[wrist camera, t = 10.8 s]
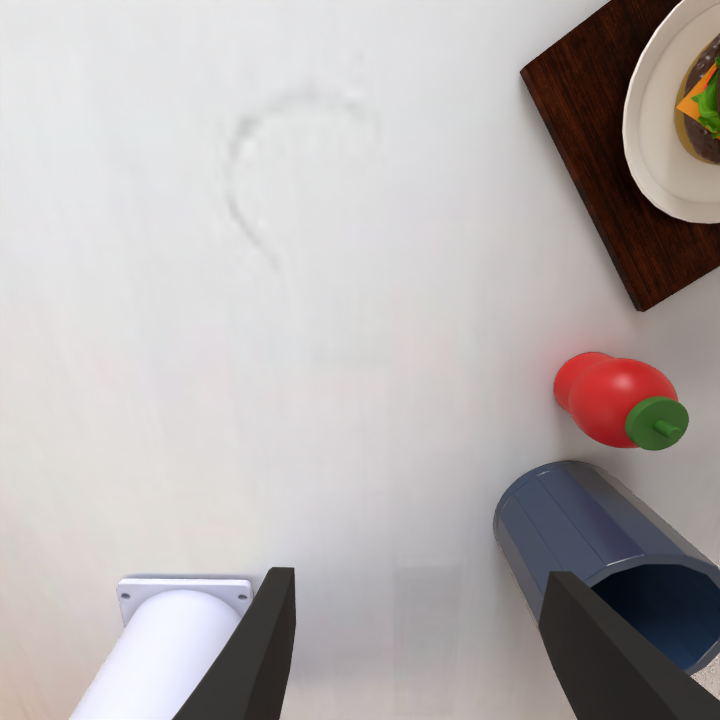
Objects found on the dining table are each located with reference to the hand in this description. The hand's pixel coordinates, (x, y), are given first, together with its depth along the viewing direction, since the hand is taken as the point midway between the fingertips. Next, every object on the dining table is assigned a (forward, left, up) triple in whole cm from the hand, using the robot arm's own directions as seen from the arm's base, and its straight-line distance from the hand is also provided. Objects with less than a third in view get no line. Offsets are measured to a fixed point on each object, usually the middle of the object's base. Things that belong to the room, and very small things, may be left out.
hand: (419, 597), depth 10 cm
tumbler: (-5, -10, -10) cm, 15 cm away
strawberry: (+3, -10, -10) cm, 14 cm away
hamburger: (+15, -13, -10) cm, 22 cm away
